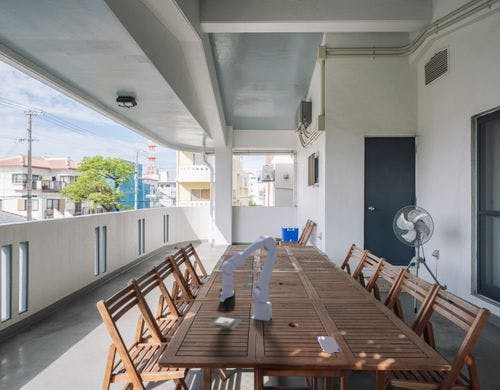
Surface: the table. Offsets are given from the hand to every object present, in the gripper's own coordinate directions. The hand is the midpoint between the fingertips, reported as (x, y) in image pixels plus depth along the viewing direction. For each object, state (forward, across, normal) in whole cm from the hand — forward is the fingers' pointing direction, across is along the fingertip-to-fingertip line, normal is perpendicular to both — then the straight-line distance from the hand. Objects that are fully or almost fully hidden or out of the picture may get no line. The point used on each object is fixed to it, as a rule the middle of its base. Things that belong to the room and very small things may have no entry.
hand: (227, 310), depth 173 cm
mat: (+6, +2, 0) cm, 6 cm away
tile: (+4, 0, 0) cm, 4 cm away
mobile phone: (+6, +8, +53) cm, 54 cm away
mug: (+6, -22, -10) cm, 24 cm away
